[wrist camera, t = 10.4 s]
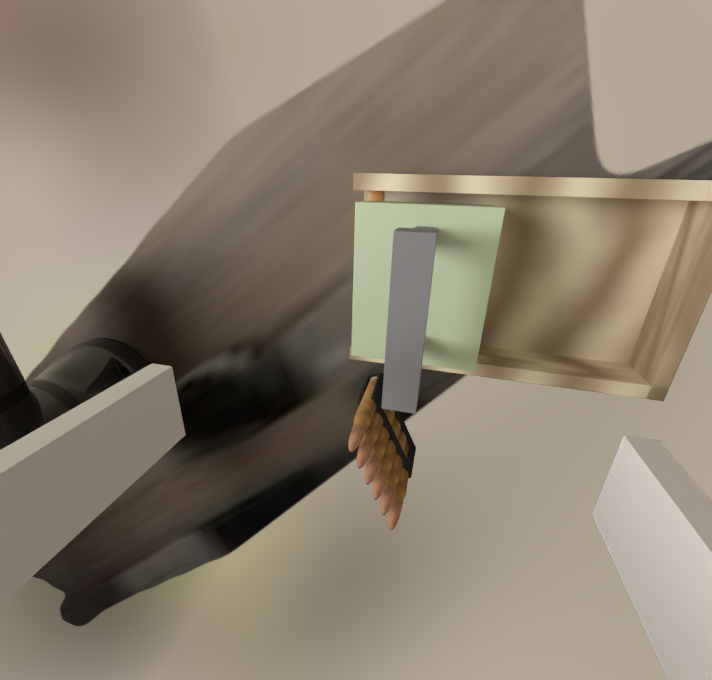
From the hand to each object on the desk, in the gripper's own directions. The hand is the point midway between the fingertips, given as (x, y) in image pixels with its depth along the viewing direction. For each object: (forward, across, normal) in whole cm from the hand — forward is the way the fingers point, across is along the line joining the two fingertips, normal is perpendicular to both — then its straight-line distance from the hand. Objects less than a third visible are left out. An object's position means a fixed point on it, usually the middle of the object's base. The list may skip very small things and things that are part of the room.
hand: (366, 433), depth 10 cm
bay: (+26, -7, 0) cm, 27 cm away
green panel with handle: (+24, 0, 0) cm, 24 cm away
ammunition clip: (+26, +2, +17) cm, 31 cm away
